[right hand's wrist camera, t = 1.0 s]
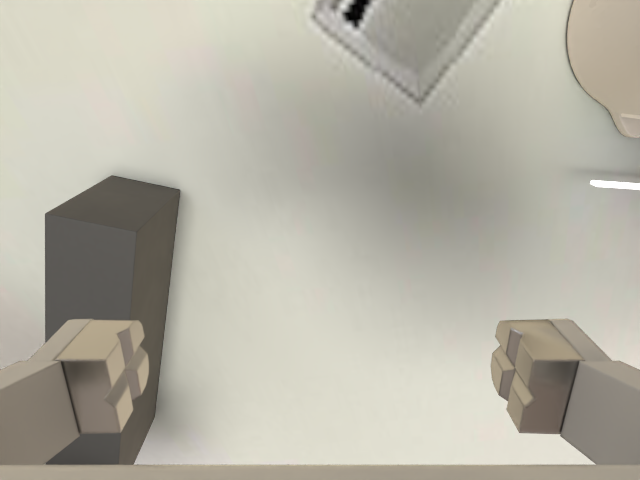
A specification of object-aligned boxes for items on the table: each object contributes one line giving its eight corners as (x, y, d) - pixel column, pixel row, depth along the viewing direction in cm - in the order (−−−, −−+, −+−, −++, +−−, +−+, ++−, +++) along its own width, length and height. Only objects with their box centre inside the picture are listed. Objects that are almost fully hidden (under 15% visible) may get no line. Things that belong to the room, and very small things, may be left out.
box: (111, 175, 41) (44, 213, 31) (180, 189, 41) (136, 231, 31) (98, 408, 51) (45, 495, 41) (154, 417, 52) (115, 505, 41)
